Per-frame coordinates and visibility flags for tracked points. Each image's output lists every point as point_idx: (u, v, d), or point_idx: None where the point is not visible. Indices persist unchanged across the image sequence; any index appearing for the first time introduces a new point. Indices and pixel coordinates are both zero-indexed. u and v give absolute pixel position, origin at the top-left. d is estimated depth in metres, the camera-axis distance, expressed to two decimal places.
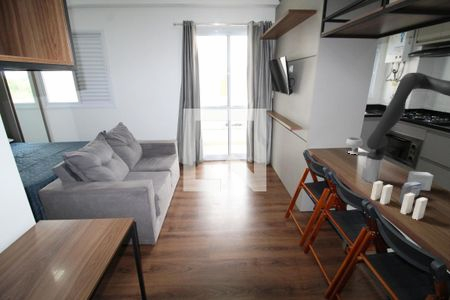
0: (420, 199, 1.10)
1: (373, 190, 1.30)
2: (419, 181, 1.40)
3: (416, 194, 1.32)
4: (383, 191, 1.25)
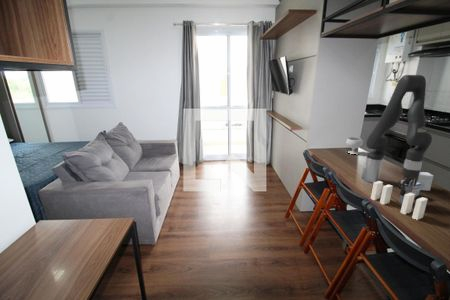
0: (420, 199, 1.10)
1: (373, 190, 1.30)
2: (419, 181, 1.40)
3: (416, 194, 1.32)
4: (383, 191, 1.25)
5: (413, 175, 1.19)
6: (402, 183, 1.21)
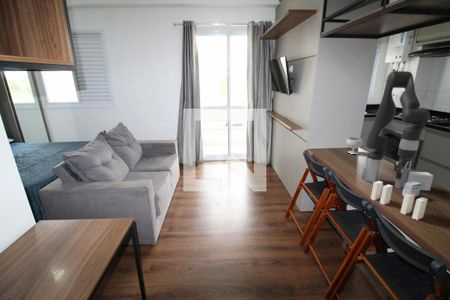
0: (420, 199, 1.10)
1: (373, 190, 1.30)
2: (419, 181, 1.40)
3: (416, 194, 1.32)
4: (383, 191, 1.25)
5: (409, 156, 1.10)
6: (398, 165, 1.12)
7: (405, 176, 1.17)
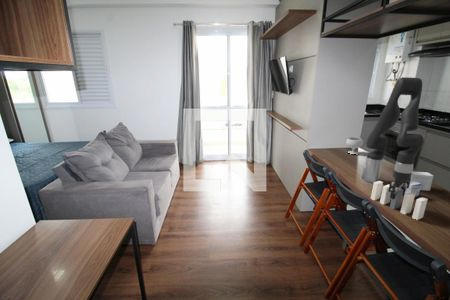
0: (420, 199, 1.10)
1: (373, 190, 1.30)
2: (419, 181, 1.40)
3: (416, 194, 1.32)
4: (383, 191, 1.25)
5: (404, 178, 1.14)
6: (393, 185, 1.16)
7: (400, 198, 1.21)
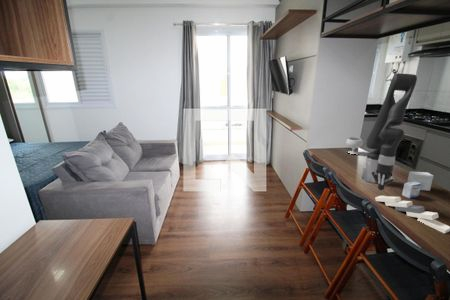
0: (446, 231, 1.02)
1: (385, 199, 1.24)
2: (419, 181, 1.40)
3: (416, 194, 1.32)
4: (400, 204, 1.18)
5: (377, 167, 1.26)
6: None
7: None
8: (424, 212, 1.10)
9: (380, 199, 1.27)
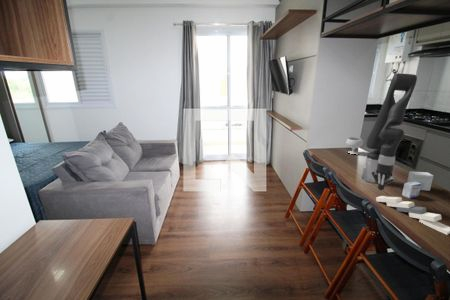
0: (449, 232, 1.01)
1: (386, 199, 1.24)
2: (419, 181, 1.40)
3: (416, 194, 1.32)
4: (401, 204, 1.17)
5: (377, 167, 1.26)
6: None
7: None
8: (427, 213, 1.09)
9: (381, 199, 1.27)
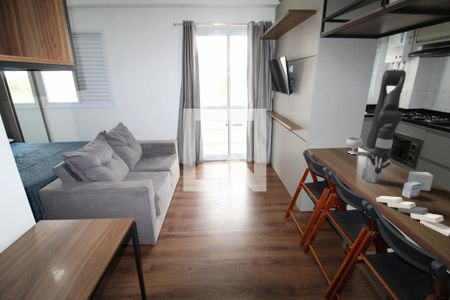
0: None
1: (387, 200, 1.24)
2: (419, 181, 1.40)
3: (416, 194, 1.32)
4: (403, 205, 1.17)
5: (374, 150, 1.26)
6: None
7: None
8: (428, 214, 1.08)
9: (381, 200, 1.27)
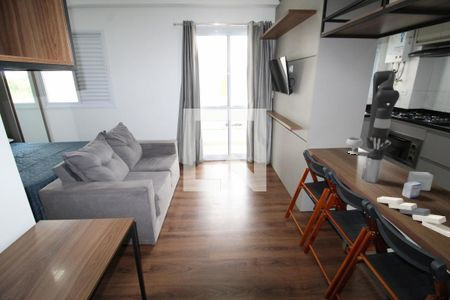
0: None
1: (387, 200, 1.23)
2: (419, 181, 1.40)
3: (416, 194, 1.32)
4: (404, 206, 1.16)
5: (372, 131, 1.25)
6: None
7: None
8: (431, 216, 1.07)
9: (382, 200, 1.26)
